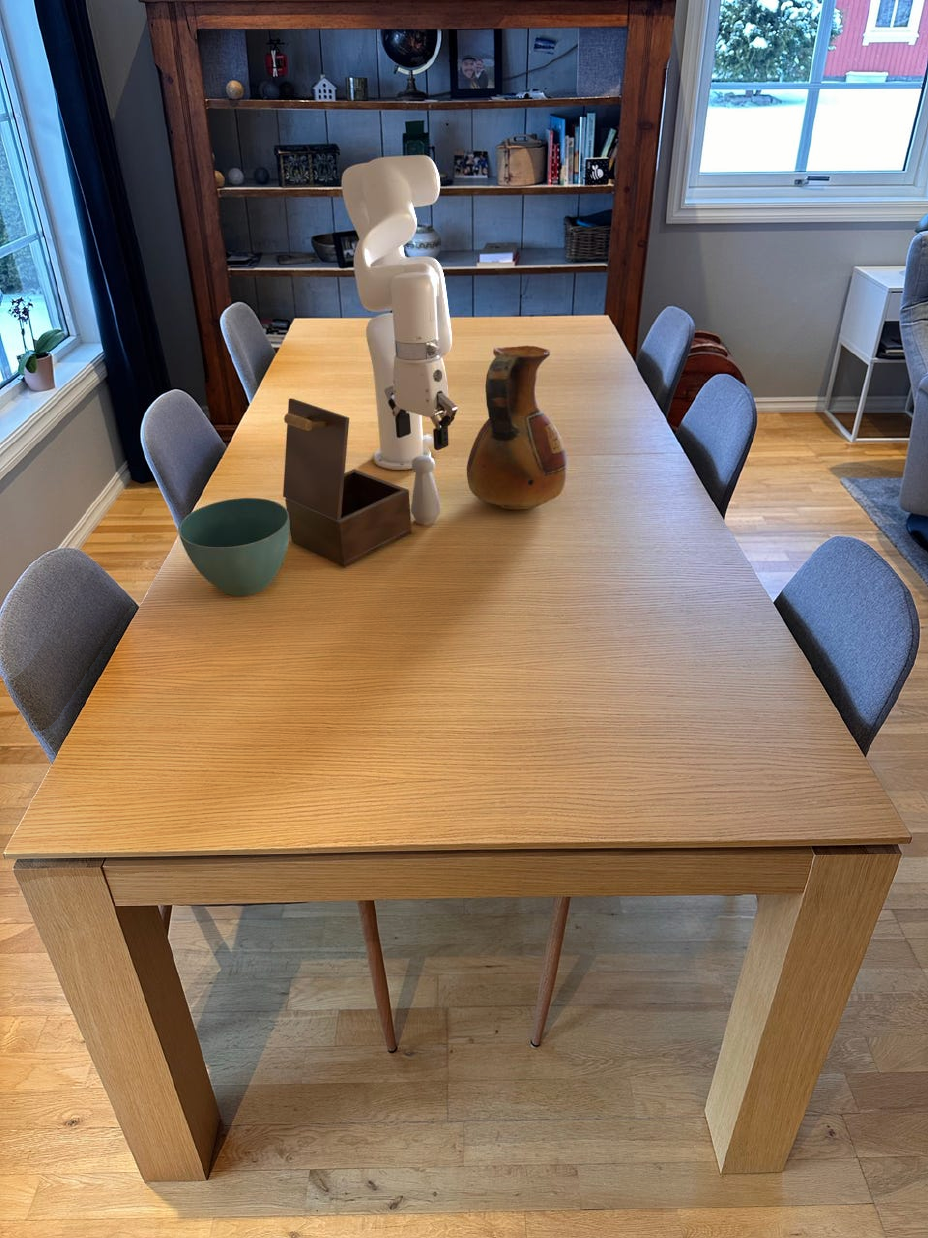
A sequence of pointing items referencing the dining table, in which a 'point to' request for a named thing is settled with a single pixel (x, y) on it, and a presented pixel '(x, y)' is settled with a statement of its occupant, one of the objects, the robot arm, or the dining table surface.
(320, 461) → the chest lid
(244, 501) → the green bowl
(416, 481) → the salt shaker
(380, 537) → the chest
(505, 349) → the ceramic pitcher
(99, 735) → the dining table surface
